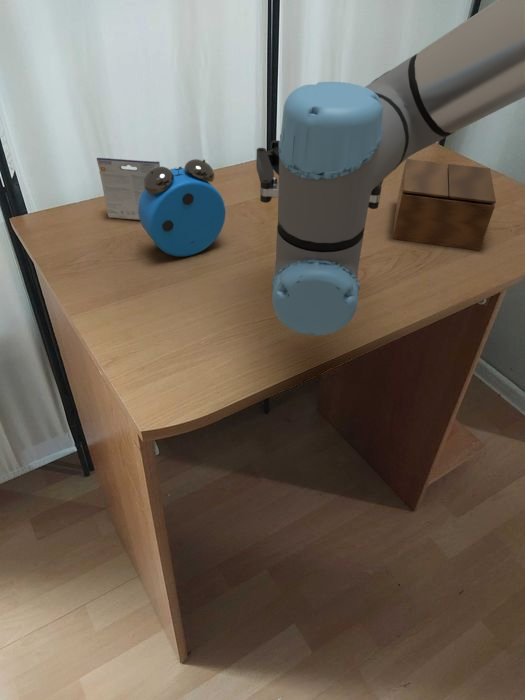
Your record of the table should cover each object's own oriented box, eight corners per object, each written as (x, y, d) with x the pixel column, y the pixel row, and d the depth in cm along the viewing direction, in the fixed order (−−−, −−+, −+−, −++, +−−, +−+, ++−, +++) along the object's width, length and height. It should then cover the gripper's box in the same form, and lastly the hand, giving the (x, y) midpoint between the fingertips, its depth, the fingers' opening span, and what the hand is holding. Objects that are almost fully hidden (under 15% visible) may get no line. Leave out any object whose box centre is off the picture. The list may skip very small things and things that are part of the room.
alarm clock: (212, 231, 96) (208, 149, 86) (228, 247, 92) (225, 163, 82) (143, 249, 91) (130, 164, 81) (156, 267, 88) (144, 181, 77)
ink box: (171, 217, 100) (164, 156, 92) (167, 223, 98) (160, 162, 90) (111, 211, 101) (99, 151, 93) (107, 218, 99) (94, 157, 91)
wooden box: (475, 214, 102) (490, 168, 96) (479, 250, 93) (496, 201, 87) (396, 204, 105) (406, 158, 98) (392, 238, 96) (402, 190, 89)
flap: (489, 170, 96) (490, 168, 96) (495, 203, 87) (495, 201, 87) (447, 165, 98) (448, 163, 97) (448, 198, 88) (449, 195, 88)
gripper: (218, 244, 60) (243, 160, 76) (415, 257, 58) (397, 169, 75) (215, 180, 55) (243, 105, 71) (430, 193, 53) (408, 113, 70)
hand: (322, 138), depth 73 cm, fingers closed on food container, 9 cm apart
